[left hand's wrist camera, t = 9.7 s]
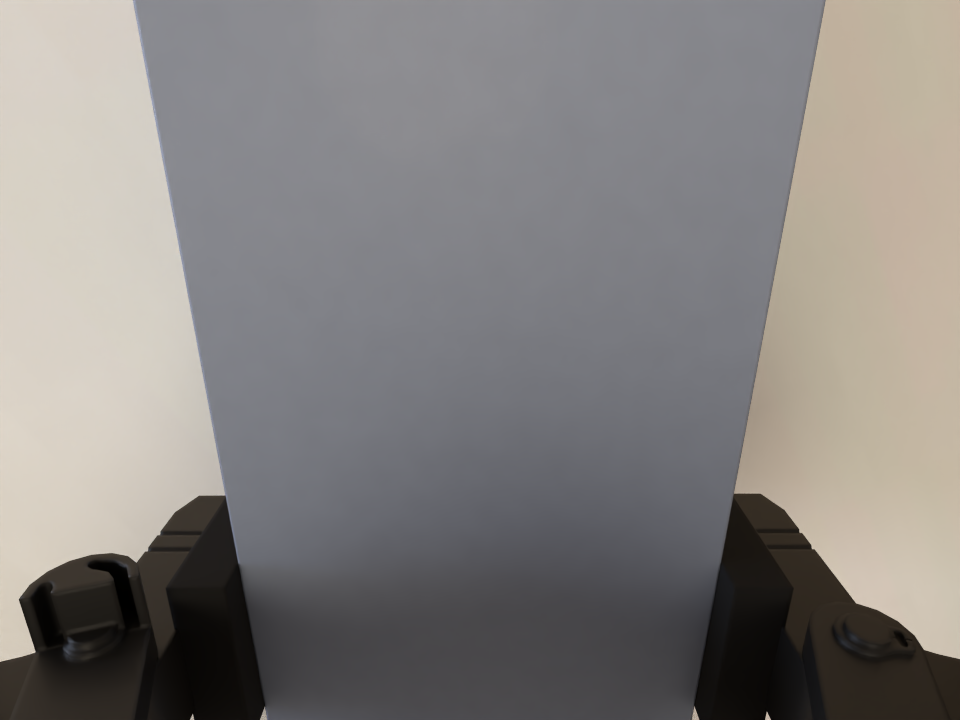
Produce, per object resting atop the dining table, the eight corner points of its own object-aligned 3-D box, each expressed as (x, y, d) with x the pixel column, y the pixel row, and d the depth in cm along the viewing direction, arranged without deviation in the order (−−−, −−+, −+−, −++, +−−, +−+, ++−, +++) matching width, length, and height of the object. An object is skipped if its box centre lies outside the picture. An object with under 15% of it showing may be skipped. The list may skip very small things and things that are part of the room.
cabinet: (320, -265, 13) (-93, -1190, 4) (637, -265, 13) (1049, -1186, 4) (375, 468, 20) (283, 809, 11) (583, 467, 20) (676, 809, 11)
